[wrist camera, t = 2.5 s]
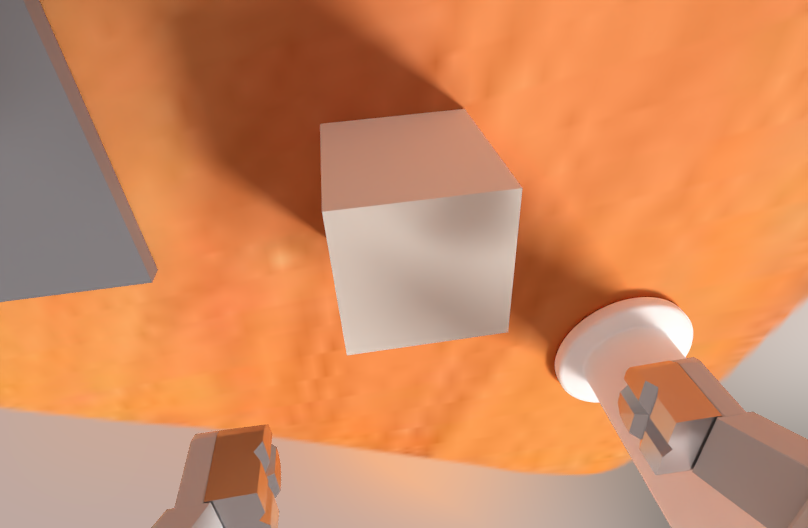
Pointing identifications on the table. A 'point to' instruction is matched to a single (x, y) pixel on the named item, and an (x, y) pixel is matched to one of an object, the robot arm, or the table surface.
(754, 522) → the candle
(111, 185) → the slate plate
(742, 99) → the table surface
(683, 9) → the table surface
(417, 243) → the cream block
